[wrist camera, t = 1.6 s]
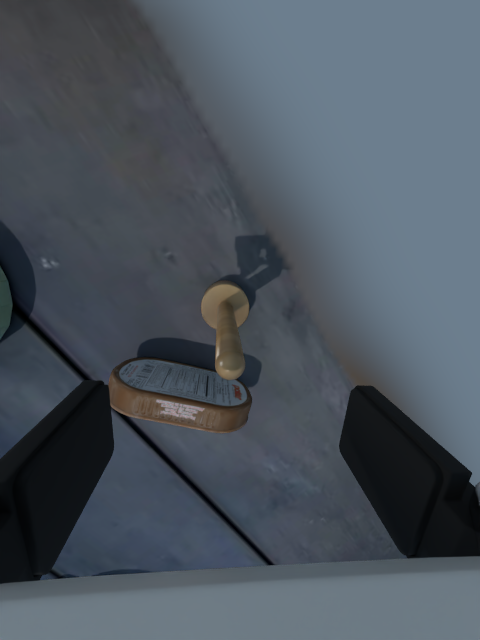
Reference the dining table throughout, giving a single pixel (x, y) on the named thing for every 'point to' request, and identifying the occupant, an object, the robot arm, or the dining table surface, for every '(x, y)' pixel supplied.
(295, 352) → the dining table surface
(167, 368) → the tin
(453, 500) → the robot arm
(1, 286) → the bowl
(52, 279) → the dining table surface
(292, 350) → the dining table surface
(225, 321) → the wooden pestle
